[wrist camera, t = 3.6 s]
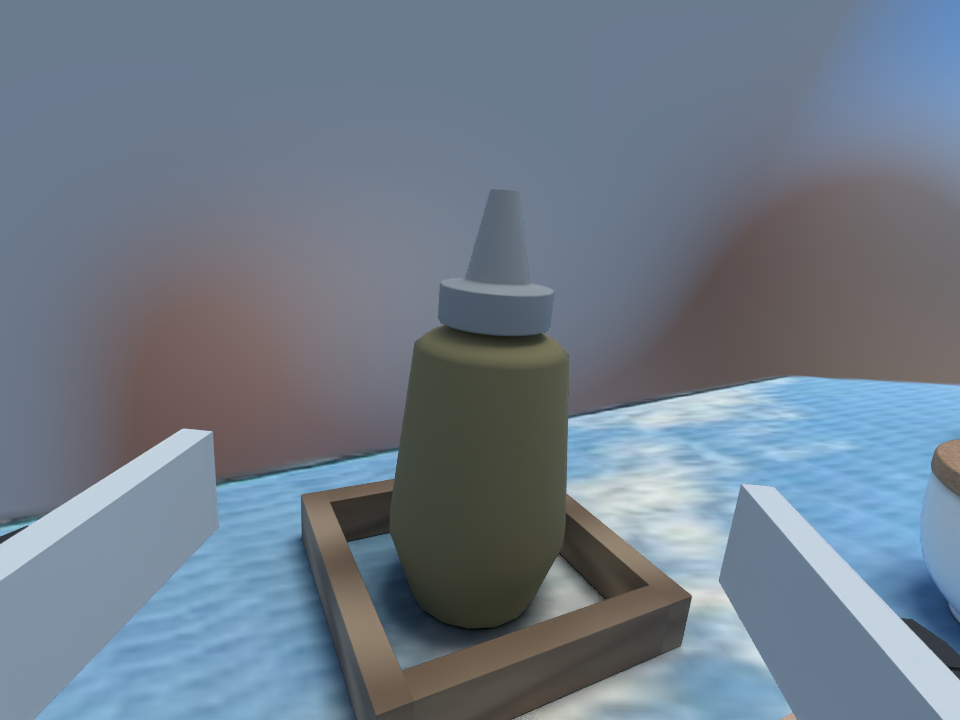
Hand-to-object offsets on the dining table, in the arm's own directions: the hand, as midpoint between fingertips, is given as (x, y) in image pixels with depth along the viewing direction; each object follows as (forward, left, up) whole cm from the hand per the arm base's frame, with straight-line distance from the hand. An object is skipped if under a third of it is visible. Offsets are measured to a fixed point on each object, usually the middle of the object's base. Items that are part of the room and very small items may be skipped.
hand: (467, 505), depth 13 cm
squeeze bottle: (+8, -5, -10) cm, 14 cm away
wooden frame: (+8, -5, -10) cm, 14 cm away
